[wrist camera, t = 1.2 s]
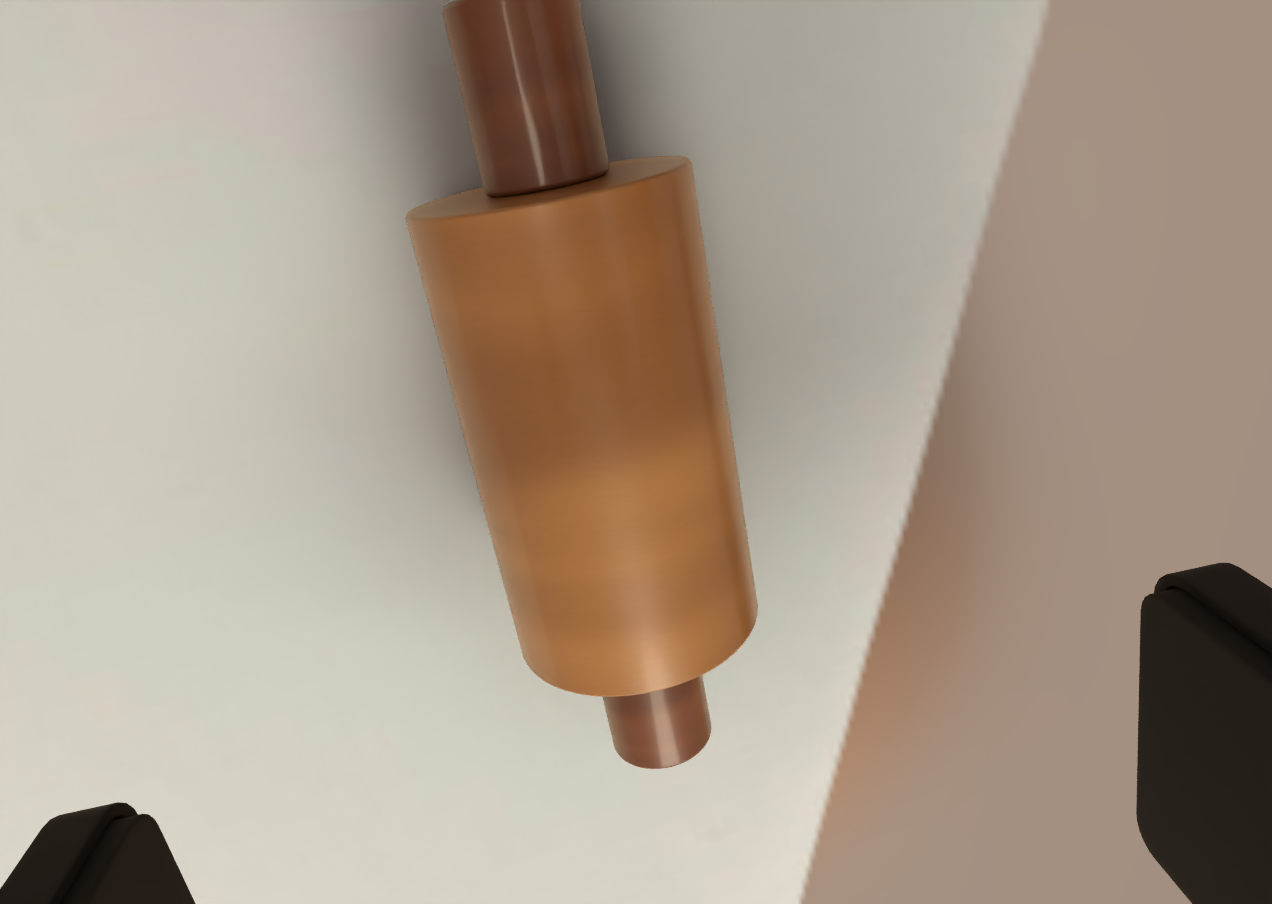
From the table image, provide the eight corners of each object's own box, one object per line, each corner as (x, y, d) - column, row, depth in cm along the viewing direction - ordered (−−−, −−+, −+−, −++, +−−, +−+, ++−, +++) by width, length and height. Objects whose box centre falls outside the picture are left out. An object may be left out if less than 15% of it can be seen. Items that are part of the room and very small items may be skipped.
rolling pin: (388, 32, 17) (314, 13, 13) (651, -20, 17) (675, -58, 12) (556, 685, 23) (547, 840, 18) (755, 650, 23) (797, 796, 18)
